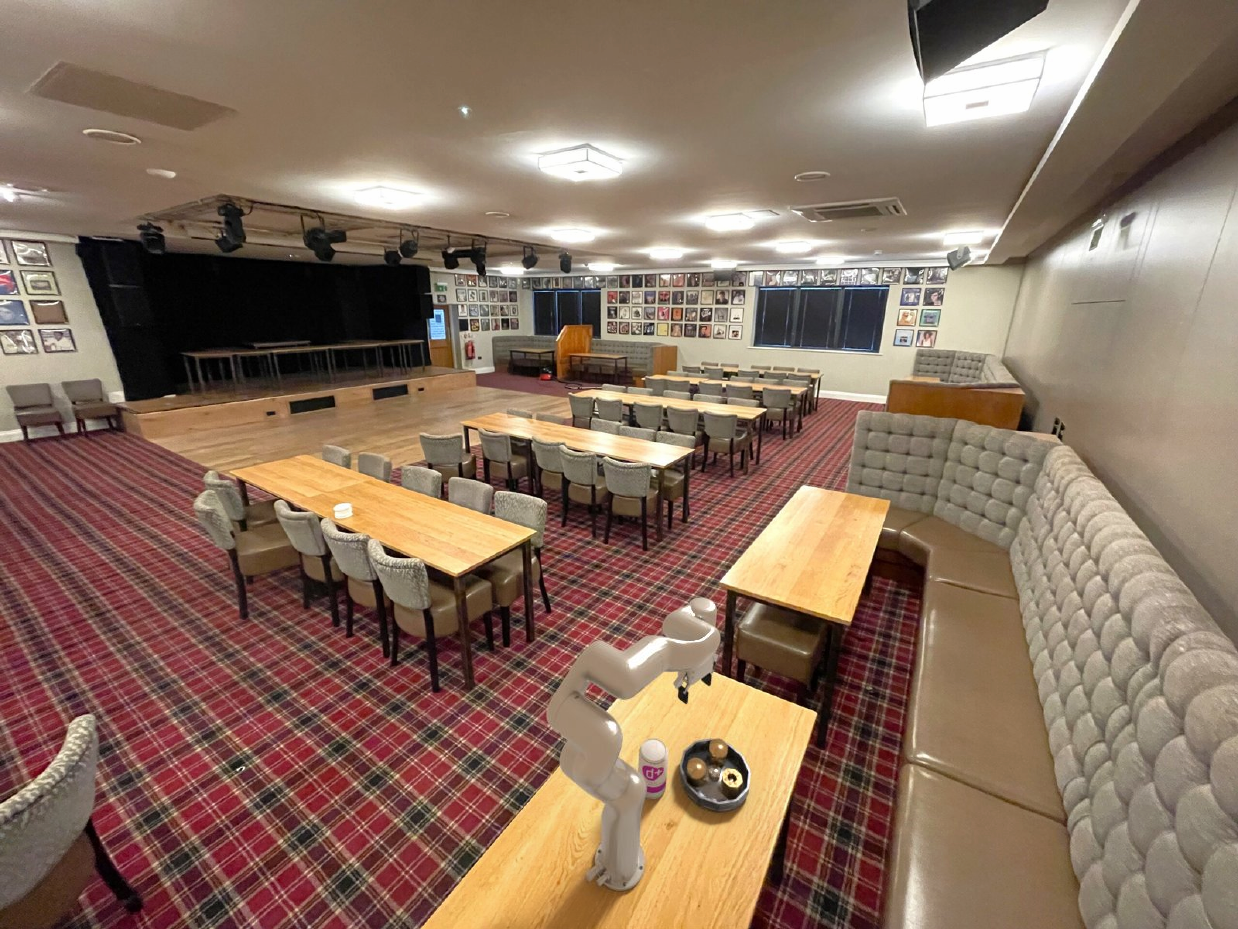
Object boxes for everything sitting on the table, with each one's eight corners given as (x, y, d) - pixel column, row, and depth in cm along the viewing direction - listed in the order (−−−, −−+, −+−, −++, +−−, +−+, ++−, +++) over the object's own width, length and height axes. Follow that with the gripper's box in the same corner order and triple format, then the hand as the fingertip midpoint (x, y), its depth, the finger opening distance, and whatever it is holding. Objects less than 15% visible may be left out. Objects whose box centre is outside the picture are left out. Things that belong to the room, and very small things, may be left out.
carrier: (719, 827, 133) (721, 812, 130) (666, 774, 147) (667, 759, 144) (762, 782, 145) (765, 766, 143) (709, 736, 159) (710, 722, 157)
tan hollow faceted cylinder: (716, 789, 141) (718, 776, 140) (728, 777, 145) (730, 765, 143) (732, 803, 138) (734, 790, 136) (743, 791, 141) (745, 779, 139)
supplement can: (664, 803, 139) (666, 765, 133) (635, 797, 140) (636, 759, 135) (667, 776, 146) (670, 739, 141) (639, 771, 147) (641, 734, 142)
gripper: (708, 621, 139) (704, 669, 145) (666, 649, 129) (663, 699, 135) (730, 635, 134) (724, 684, 140) (688, 665, 123) (683, 717, 130)
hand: (694, 691), depth 137 cm, fingers open, 9 cm apart
